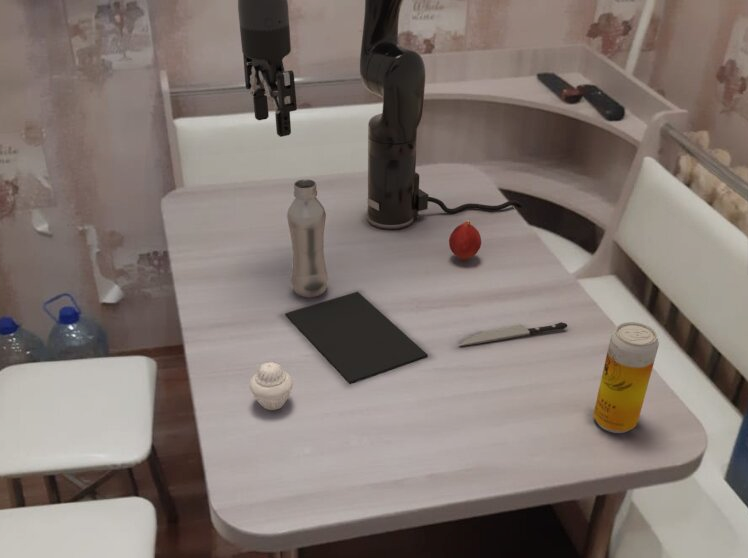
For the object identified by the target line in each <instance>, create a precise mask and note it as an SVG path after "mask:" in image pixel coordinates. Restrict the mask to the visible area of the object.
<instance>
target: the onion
mask: <svg viewBox="0 0 748 558" xmlns="http://www.w3.org/2000/svg"><path fill="white" fill-rule="evenodd" d="M481 237H482V236H481V234H480V232H479V230H478V229H477V228H476V227H475V226H474V225H472V224H471V220H469V219H468V220H465V221H464V222H462V223H460V224H459V225H457V226H456V227H455V228H454V229H453V230H452V232H451V233H450V236H449V239H448V246H449V250H450V251H451V253H452V254H454V256H456V257H457V258H459V259H460V260H461V261H468V260H469V259H470V258H472V257H475V256H476V255H477V254H478V252H479V250H480V249H481V246H482V238H481Z"/></svg>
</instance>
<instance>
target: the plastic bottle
mask: <svg viewBox="0 0 748 558" xmlns="http://www.w3.org/2000/svg"><path fill="white" fill-rule="evenodd" d="M317 196H318V190H317V183H316V181H315V180H313V179H308V178H303V179H299V180H296V181H295V182H294V183H293V197H294V199H293V201H292V202H291V204H290V205H289V207H288V210H287V215H286V218H287V219H286V220H287V224H288V229H289V233H290V239H291V248H292V249H291V250H292V265H291V266H292V267H291V273H290V282H291V283H290V284H291V287H292V290H293V291H294V292H295V293H296V294H297V295H298V296H300V297H303V298H315V297H319V296H321V295H322V294H323V293H324V292H325V291H326V290H327V288H328V283H329V275H328V270H327V266H326V260H325V251H324V243H325V242H324V239H325V238H324V237H325V227H326V218H327V217H326V216H327V215H326V214H327V213H326V210H325V208H324V206H323V204H322V203H321V201H320V200H319V199H318V198H317Z"/></svg>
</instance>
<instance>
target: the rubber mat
mask: <svg viewBox="0 0 748 558" xmlns="http://www.w3.org/2000/svg"><path fill="white" fill-rule="evenodd" d="M284 314H285V317H286V318H288V320H289V321H290V322H291V323H292V324H293V325H294V327H296V328H297V329H298V330H299V331H300V332H301V333H302V335H304V337H305V338H306V339H307V341H309V342H310V343H311V344H312V346H314V347H315V348H316V349H317V351H318V352H319V353H320V354H321V355H322V356H323V357H324V358H325V359H326V361H328V362H329V363H330V364H331V366H332V367H333V368H334V369H335V370H336V371H337V372H338V373H339V374H340V375H341V376H342V377H343V378H344V379H345V380H346V382H347V383H348V384H353V383H357V382H359V381H362V380H364V379H368V378H371V377H373V376H377V375H379V374H381V373H384V372H388V371H390V370H393V369H397V368H399V367H402V366H404V365H407V364H411V363H413V362H417V361H419V360H421V359H424V358H427V357H428V353H427V352H426V351H425V350H423V349H422V348H421V347H420V346H419V345H418V344H417V343H415V342H414V341H413V339H411V338H410V337H409V336H408V335H407V334H406V333H405V332H403V330H401V329H400V328H399V327H398V326H396V325H395V324H394V323H393V322H392V321H391V320H390V319H389V318H387V316H385V314H383V313H382V312H381V311H380V310H379V309H378V308H377V307H375V306H374V304H372V303H371V302H370V301H369V300H368V299H366V298H365V297H364V296H363V295H362V294H361V293H360V292H359V291H354V292H352V293H348V294H344V295H342V296H338V297H335V298H331V299H327V300H325V301H322V302H319V303H314V304H312V305H308V306H305V307H301V308H298V309H295V310H292V311H287V312H285V313H284Z"/></svg>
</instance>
